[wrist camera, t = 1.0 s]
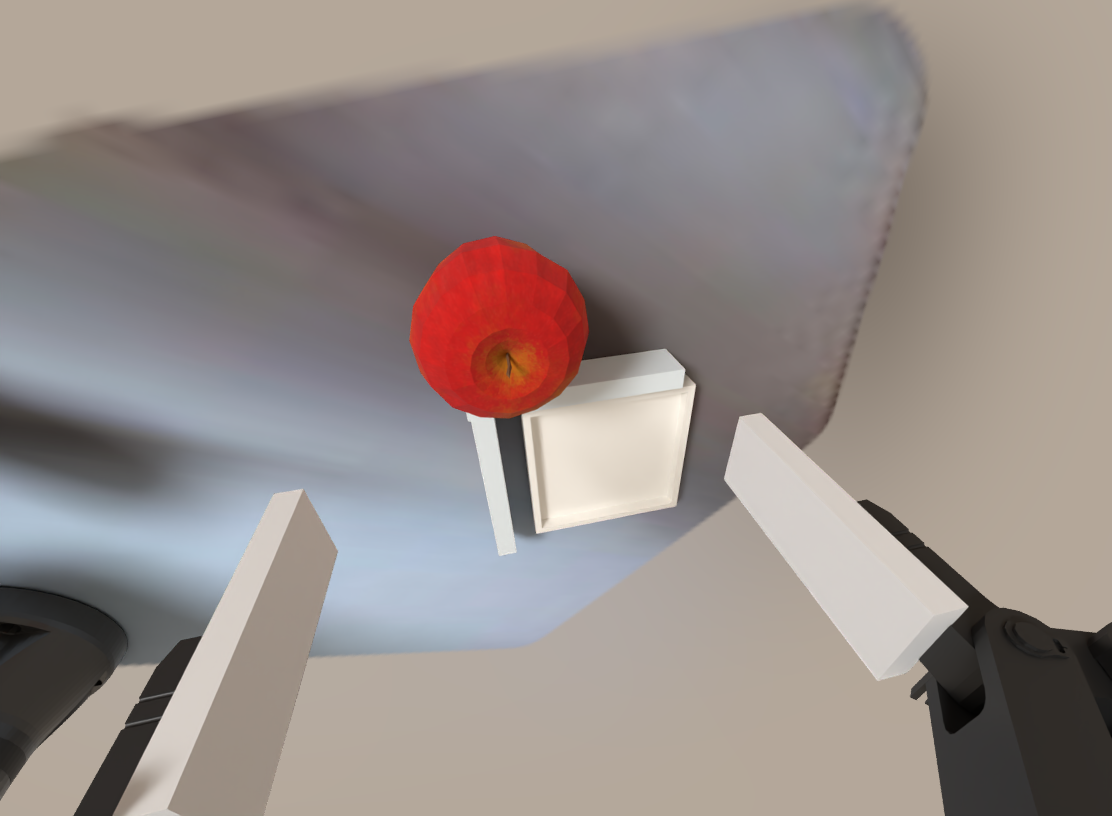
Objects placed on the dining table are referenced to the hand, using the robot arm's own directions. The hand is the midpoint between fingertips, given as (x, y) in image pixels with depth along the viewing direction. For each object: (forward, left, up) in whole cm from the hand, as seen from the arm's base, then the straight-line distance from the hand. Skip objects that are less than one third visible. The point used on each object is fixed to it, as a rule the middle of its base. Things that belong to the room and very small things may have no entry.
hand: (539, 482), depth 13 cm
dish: (+8, -16, -18) cm, 26 cm away
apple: (0, 0, -19) cm, 19 cm away
